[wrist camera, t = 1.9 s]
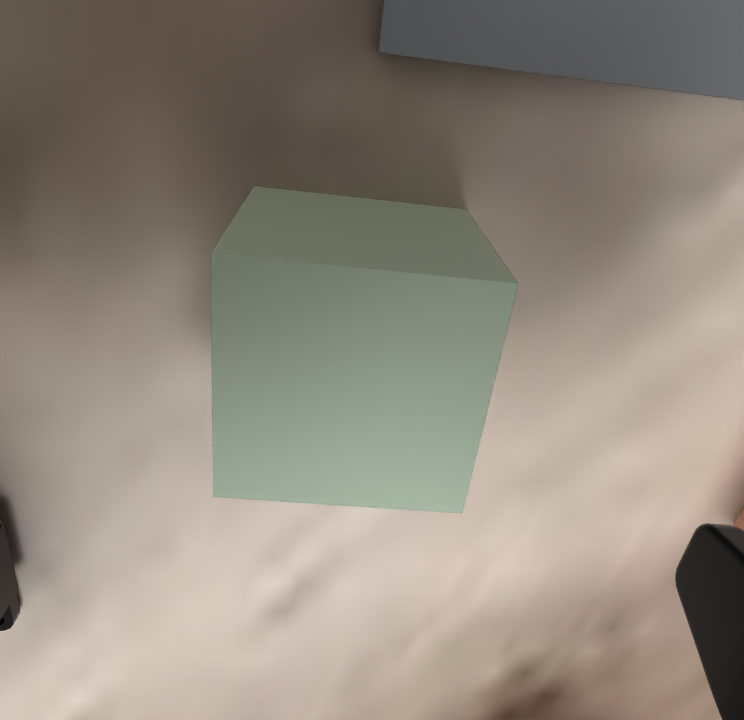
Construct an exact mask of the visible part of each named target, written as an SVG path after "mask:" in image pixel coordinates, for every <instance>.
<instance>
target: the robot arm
mask: <svg viewBox="0 0 744 720" xmlns="http://www.w3.org/2000/svg"><path fill="white" fill-rule="evenodd" d="M675 581H676V587H677V591H678V594H679V597H680V600H681V603H682V606H683V609H684V612H685V615H686V618H687V621H688V624H689V627H690V630H691V633H692V635H693V638H694V641H695V644H696V647H697V650H698V653H699V656H700V659H701V662H702V665H703V668H704V671H705V674H706V677H707V680H708V683H709V686H710V689H711V691H712V694H713V697H714V700H715V702H716V705H717V708H718V710H719V713H720V715H721V717H722V720H744V530H742V529H740V528H738V527H736V526H733V525H725V524H709V523H707V524H702V525H701V526H699V527H698V528H697V529H696V530H695V532H694V534H693V536H692V538H691V540H690V542H689V544H688V546H687V548H686V550H685V552H684V554H683V556H682V558H681V560H680V562H679V564H678V566H677V569H676V575H675ZM17 591H18V585H17V580H16V576H15V571H14V567H13V563H12V558H11V554H10V549H9V545H8V541H7V536H6V532H5V527H4V525H3V524H2V522H1V521H0V631H4V630H7V629H9V628H11V627H12V625H13V624H14V622H15V621H16V619H17V617H18V615H19V614H20V606H19V602H18V597H17Z"/></svg>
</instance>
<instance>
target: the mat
mask: <svg viewBox="0 0 744 720" xmlns="http://www.w3.org/2000/svg"><path fill="white" fill-rule="evenodd" d="M378 52H379V53H386V54H393V55H401V56H409V57H416V58H424V59H432V60H439V61H447V62H455V63H462V64H470V65H477V66H485V67H493V68H500V69H508V70H516V71H523V72H531V73H539V74H546V75H554V76H561V77H569V78H577V79H584V80H592V81H600V82H607V83H615V84H623V85H630V86H638V87H646V88H653V89H661V90H668V91H676V92H684V93H691V94H699V95H707V96H714V97H722V98H730V99H737V100H744V0H384V1H383V10H382V19H381V29H380V38H379V47H378Z"/></svg>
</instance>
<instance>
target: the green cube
mask: <svg viewBox="0 0 744 720" xmlns="http://www.w3.org/2000/svg"><path fill="white" fill-rule="evenodd" d="M517 287H518V283H517V281H516V280H515V278H514V277H513V275H512V274H511V273H510V271H509V270H508V268H507V267H506V265H505V264H504V262H503V261H502V259H501V258H500V257H499V255H498V254H497V252H496V251H495V249H494V248H493V246H492V245H491V244H490V242H489V241H488V239H487V238H486V236H485V235H484V233H483V232H482V231H481V229H480V228H479V226H478V225H477V223H476V222H475V220H474V219H473V218H472V216H471V215H470V213H469V212H468V210H467V209H459V208H450V207H441V206H432V205H423V204H414V203H404V202H395V201H386V200H377V199H368V198H359V197H350V196H340V195H331V194H322V193H313V192H304V191H295V190H286V189H276V188H267V187H258V186H254V187H253V188H252V190H251V192H250V193H249V195H248V196H247V198H246V199H245V201H244V202H243V204H242V205H241V207H240V209H239V210H238V212H237V213H236V215H235V216H234V218H233V219H232V221H231V223H230V224H229V226H228V227H227V229H226V230H225V232H224V233H223V235H222V237H221V238H220V240H219V241H218V243H217V244H216V246H215V247H214V249H213V251H212V252H211V323H212V423H213V497H220V498H235V499H250V500H265V501H281V502H296V503H311V504H326V505H342V506H357V507H372V508H387V509H403V510H418V511H433V512H448V513H462V512H463V508H464V504H465V500H466V496H467V491H468V487H469V483H470V479H471V475H472V471H473V467H474V463H475V459H476V455H477V451H478V446H479V442H480V438H481V434H482V430H483V426H484V422H485V418H486V414H487V410H488V405H489V401H490V397H491V393H492V389H493V385H494V381H495V377H496V373H497V369H498V364H499V360H500V356H501V352H502V348H503V344H504V340H505V336H506V332H507V328H508V323H509V319H510V315H511V311H512V307H513V303H514V299H515V295H516V291H517Z"/></svg>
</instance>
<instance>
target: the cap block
mask: <svg viewBox="0 0 744 720" xmlns="http://www.w3.org/2000/svg"><path fill="white" fill-rule="evenodd" d="M734 525H735V526H736V527H738V528H740V529H742V530H744V507H743V509H742V510H741V512H740V514H739V515H738V517H737V519H736V520H735V522H734Z"/></svg>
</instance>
